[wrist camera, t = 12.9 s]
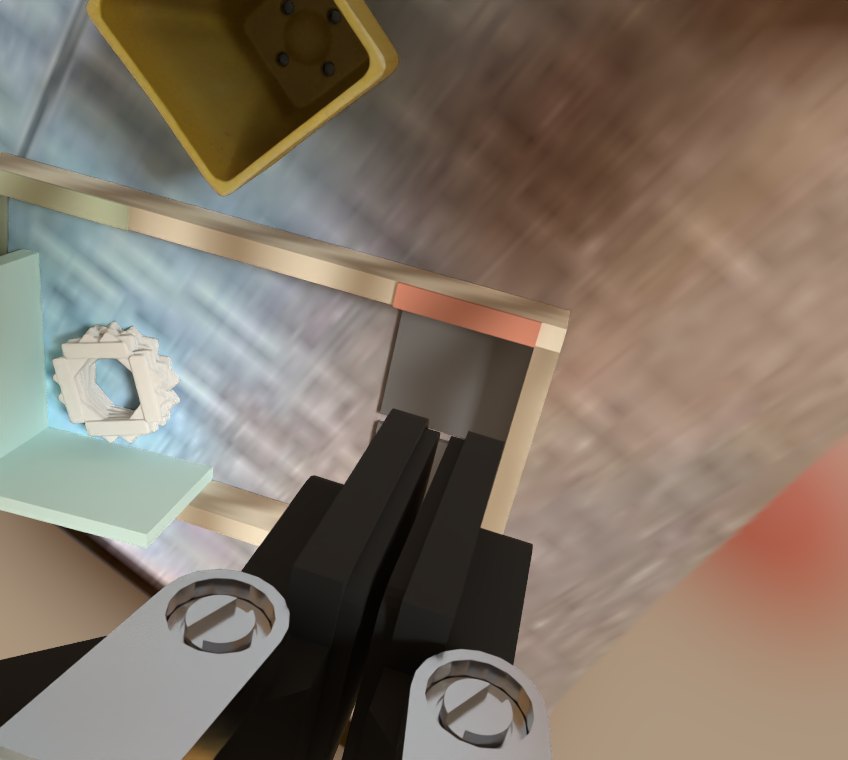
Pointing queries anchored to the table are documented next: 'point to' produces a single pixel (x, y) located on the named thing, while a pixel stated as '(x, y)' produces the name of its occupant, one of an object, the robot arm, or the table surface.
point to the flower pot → (245, 72)
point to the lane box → (365, 276)
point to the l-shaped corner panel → (85, 402)
